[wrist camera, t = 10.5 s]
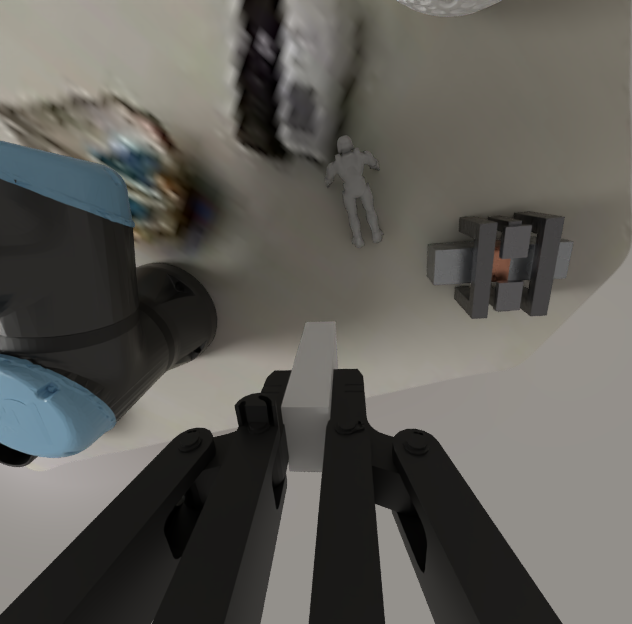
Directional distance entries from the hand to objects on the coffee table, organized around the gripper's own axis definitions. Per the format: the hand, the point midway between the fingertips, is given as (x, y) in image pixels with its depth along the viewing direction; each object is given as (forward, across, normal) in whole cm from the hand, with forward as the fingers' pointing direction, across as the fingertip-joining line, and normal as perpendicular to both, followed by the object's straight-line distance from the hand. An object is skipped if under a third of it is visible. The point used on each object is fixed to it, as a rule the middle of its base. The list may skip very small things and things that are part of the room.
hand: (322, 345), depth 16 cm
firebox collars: (+26, +19, -2) cm, 32 cm away
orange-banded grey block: (+26, +18, -2) cm, 32 cm away
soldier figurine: (+26, +3, +6) cm, 27 cm away
